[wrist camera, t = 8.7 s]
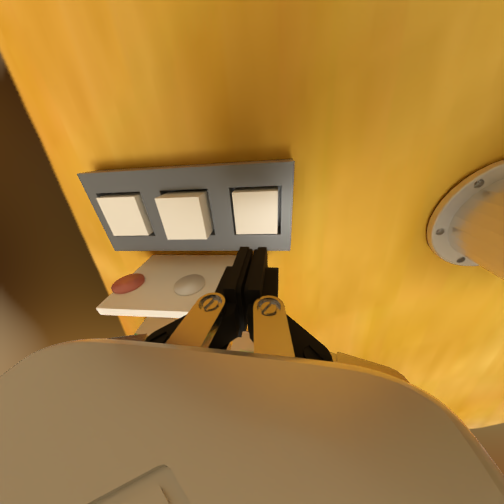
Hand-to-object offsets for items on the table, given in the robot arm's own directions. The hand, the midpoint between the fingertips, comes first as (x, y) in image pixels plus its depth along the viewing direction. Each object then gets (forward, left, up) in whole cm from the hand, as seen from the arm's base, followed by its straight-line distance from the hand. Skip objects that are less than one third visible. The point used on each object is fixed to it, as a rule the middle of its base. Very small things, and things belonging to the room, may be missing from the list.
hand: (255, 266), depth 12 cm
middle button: (+6, +6, -12) cm, 15 cm away
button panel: (+5, +7, -14) cm, 16 cm away
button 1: (+1, +1, -13) cm, 13 cm away
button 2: (+12, +12, -13) cm, 21 cm away
